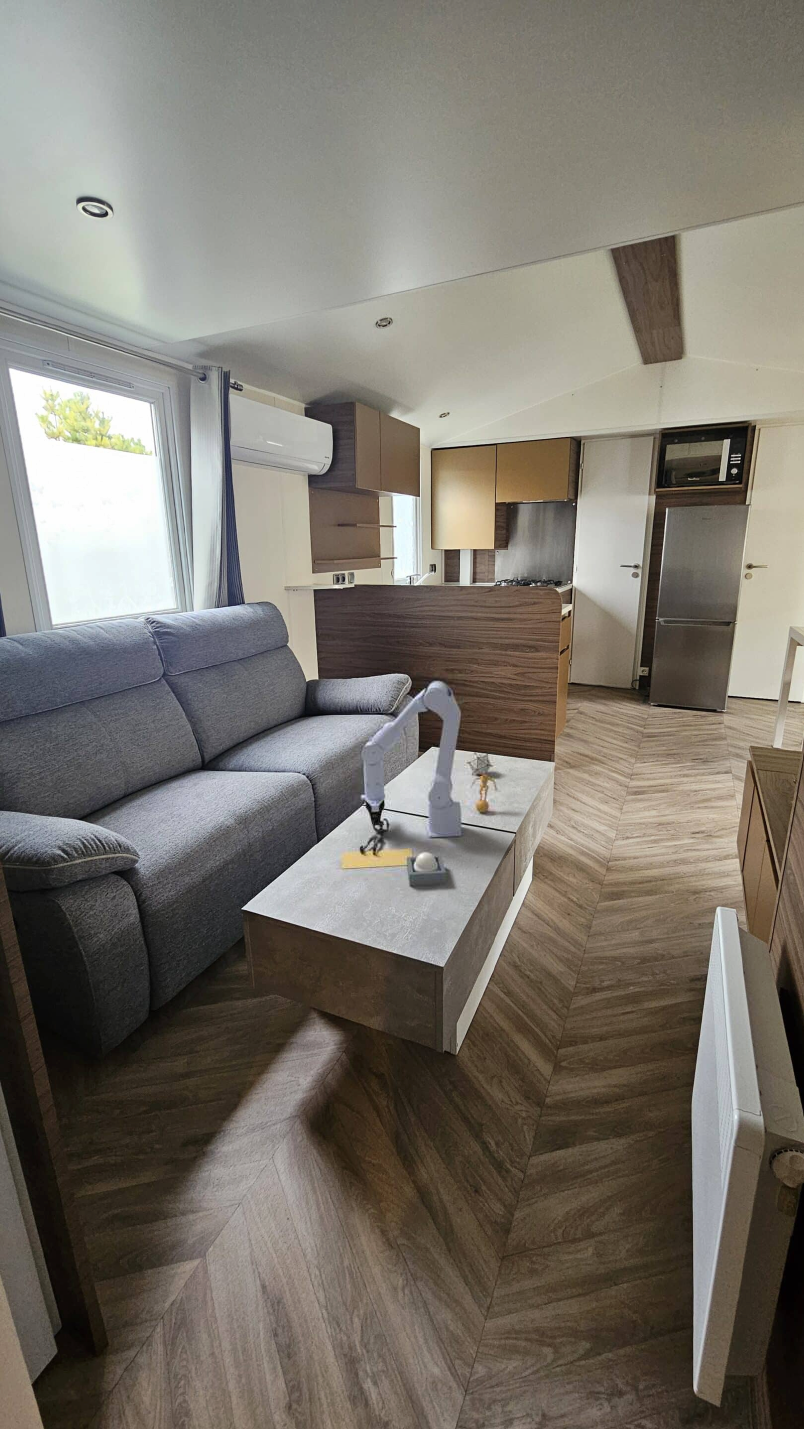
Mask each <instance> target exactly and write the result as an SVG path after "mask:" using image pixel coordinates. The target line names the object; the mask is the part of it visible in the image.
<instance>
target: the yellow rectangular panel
mask: <svg viewBox="0 0 804 1429" xmlns="http://www.w3.org/2000/svg"><path fill="white" fill-rule="evenodd" d="M407 857H414V854H413V848H399V849H396V848H395V849H384V850H383V849H382V850H380V849H379V850H376V854H375V855H373V850H365V851H364V853H363V854H361V852H360V851H345V852H342V860H341V870H349V869H364V868H367V869H368V868H380V867H382V868H383V867H384V868H385V867H400V866H401V867H402V866H407Z"/></svg>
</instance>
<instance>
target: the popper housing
mask: <svg viewBox="0 0 804 1429" xmlns="http://www.w3.org/2000/svg"><path fill="white" fill-rule="evenodd" d="M433 856H434V858H435V860H436V862H437V864H438V871H427V872H414V863H415V862H416V858H417V857H418V855H417V856H416V855H415V856H413V857H407V865H406V871H407V878H408V884H409V885H408V886H409V887H420V886H422V887H423V886H435V885H436V886H437V885H446V884H447V874H446V873H447V872H446V868H445V864H444V860H443V857H442V854H438V855H437V854H436V855H433Z"/></svg>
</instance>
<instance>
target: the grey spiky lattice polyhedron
mask: <svg viewBox="0 0 804 1429" xmlns="http://www.w3.org/2000/svg"><path fill="white" fill-rule="evenodd" d="M466 763H467V764H468V765H469V767H470V768H471V771H472V773H471V776H473V775H475V774H476V775H481V776H483V774H486V775H487V772H488V771H489V770H490V768H491V767H492V768H493V767H494V765H492V764H491V762H490V759H489V753H487V754H480V753H479V754H478V753H476V752H474V755H473V757H472V758H471V760H470V761H467V762H466Z"/></svg>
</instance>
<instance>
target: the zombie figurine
mask: <svg viewBox="0 0 804 1429" xmlns="http://www.w3.org/2000/svg"><path fill="white" fill-rule="evenodd" d="M375 817H377V815H373V819H372V821H371V820H370V822H371V824H372V823H373V825H372V828H373V831H375V834H373V835H372V836H371V837H369V838H368V841H366V842H367V843H366V845H360V846H359V852H361V854H363V853H364V851H366V849H367V848H368V846H369V845H370V844H371V842H373V841H375V842H374V846H372V851H373V855H375V854H376V851H378V850H377V849H378V847H379V846H378V845H379V841H382V840H383V835H384V834H385V833H388V830H389V828H390V822H389V821H388V819H387V818H382V819H383V820H380V821H379V822H378V823H377V825H375V824H374V822H375ZM385 822H386V829H383V827H384V826H385V824H384V823H385ZM376 826H377V828H376Z"/></svg>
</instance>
